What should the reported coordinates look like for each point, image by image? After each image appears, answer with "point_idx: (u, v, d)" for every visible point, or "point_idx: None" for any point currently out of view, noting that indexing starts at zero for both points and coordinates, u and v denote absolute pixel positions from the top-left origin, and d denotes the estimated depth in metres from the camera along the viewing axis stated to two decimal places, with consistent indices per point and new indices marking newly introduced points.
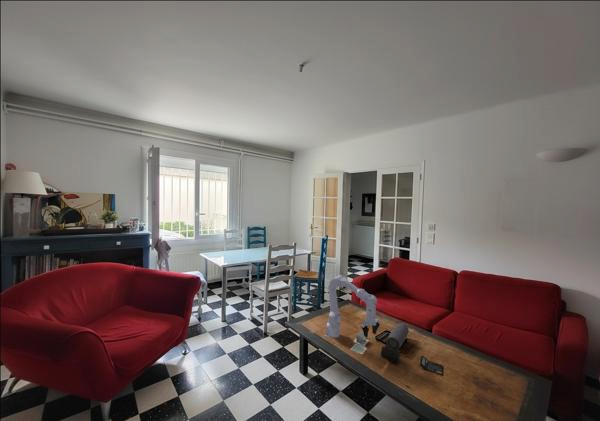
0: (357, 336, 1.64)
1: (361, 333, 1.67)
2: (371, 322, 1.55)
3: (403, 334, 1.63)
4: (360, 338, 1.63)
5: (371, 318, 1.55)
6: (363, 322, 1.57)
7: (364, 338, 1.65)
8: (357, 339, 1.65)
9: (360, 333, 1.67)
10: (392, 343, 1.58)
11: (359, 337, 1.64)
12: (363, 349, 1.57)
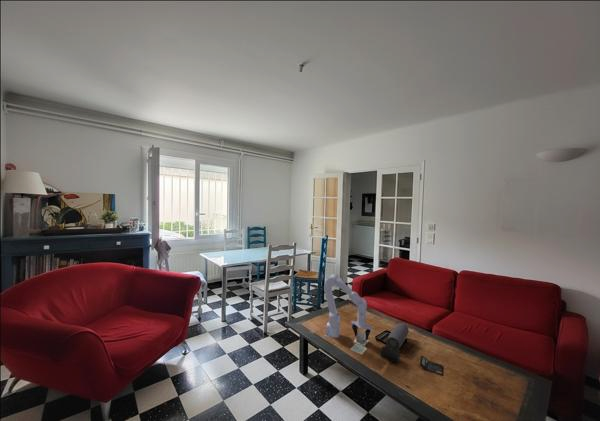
0: (357, 336, 1.64)
1: (361, 333, 1.67)
2: (358, 324, 1.65)
3: (403, 334, 1.63)
4: (360, 338, 1.63)
5: (358, 320, 1.65)
6: None
7: (364, 338, 1.65)
8: (357, 339, 1.65)
9: (360, 333, 1.67)
10: (392, 343, 1.58)
11: (359, 337, 1.64)
12: (363, 349, 1.57)
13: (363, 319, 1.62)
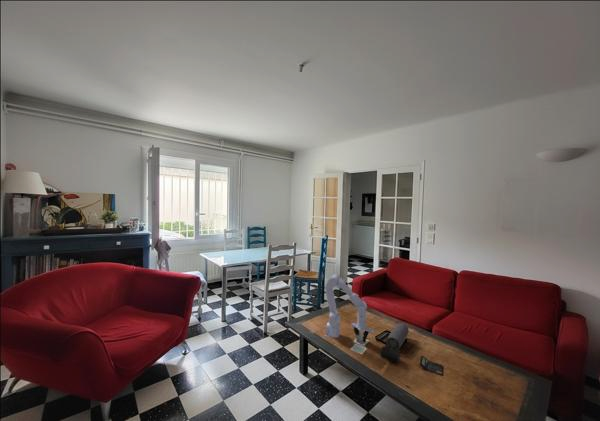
0: (357, 336, 1.64)
1: (361, 333, 1.67)
2: (358, 326, 1.65)
3: (403, 334, 1.63)
4: (360, 338, 1.63)
5: (358, 322, 1.65)
6: None
7: None
8: (357, 339, 1.65)
9: (360, 333, 1.67)
10: (392, 343, 1.58)
11: (359, 337, 1.64)
12: (363, 349, 1.57)
13: (363, 321, 1.63)
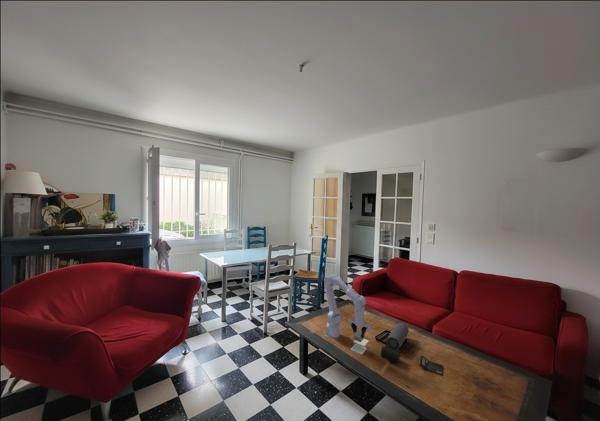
0: (355, 333, 1.56)
1: (359, 330, 1.58)
2: (355, 321, 1.56)
3: (403, 334, 1.63)
4: (358, 335, 1.55)
5: (355, 317, 1.56)
6: (352, 319, 1.61)
7: None
8: (355, 337, 1.56)
9: (358, 330, 1.58)
10: (392, 343, 1.58)
11: (357, 334, 1.55)
12: (363, 349, 1.57)
13: (359, 316, 1.54)
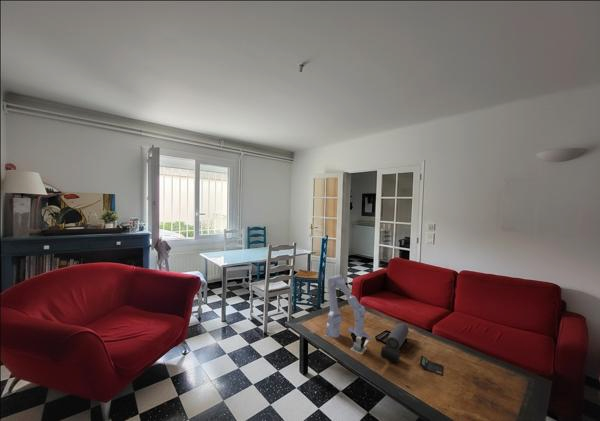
0: (355, 343, 1.56)
1: (359, 340, 1.59)
2: (355, 331, 1.56)
3: (403, 334, 1.63)
4: (358, 345, 1.55)
5: (355, 327, 1.56)
6: None
7: None
8: (355, 346, 1.57)
9: (358, 340, 1.59)
10: (392, 343, 1.58)
11: (357, 344, 1.56)
12: (363, 349, 1.57)
13: (358, 326, 1.54)
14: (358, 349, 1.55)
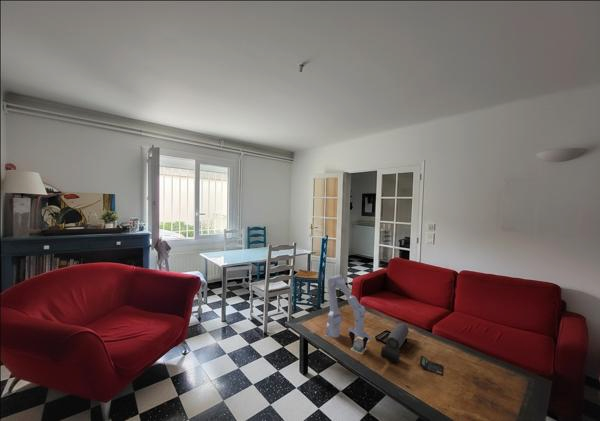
0: (355, 343, 1.56)
1: (359, 340, 1.59)
2: (355, 331, 1.56)
3: (403, 334, 1.63)
4: (358, 345, 1.55)
5: (355, 327, 1.56)
6: None
7: (362, 345, 1.57)
8: (355, 346, 1.57)
9: (358, 340, 1.59)
10: (392, 343, 1.58)
11: (357, 344, 1.56)
12: (363, 349, 1.57)
13: (358, 326, 1.54)
14: (358, 349, 1.55)
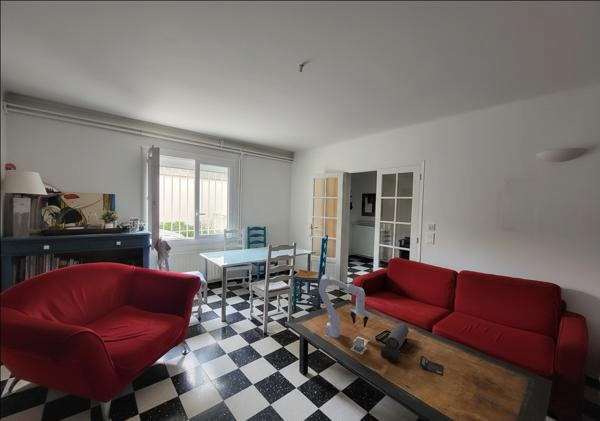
0: (355, 343, 1.56)
1: (359, 340, 1.59)
2: (356, 311, 1.69)
3: (403, 334, 1.63)
4: (358, 345, 1.55)
5: (356, 307, 1.69)
6: (353, 309, 1.74)
7: (362, 345, 1.57)
8: (355, 346, 1.57)
9: (358, 340, 1.59)
10: (392, 343, 1.58)
11: (357, 344, 1.56)
12: (363, 349, 1.57)
13: (362, 306, 1.67)
14: (358, 349, 1.55)
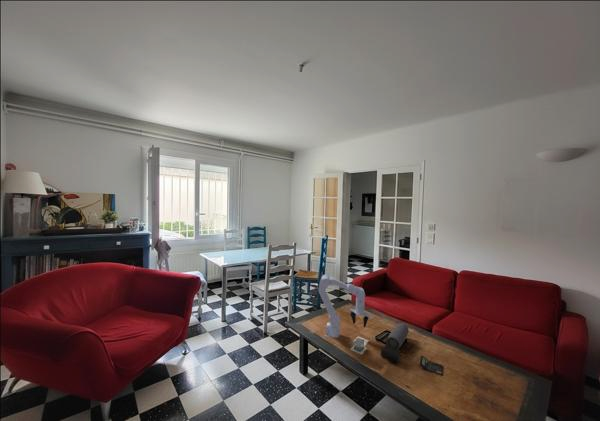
0: (355, 343, 1.56)
1: (359, 340, 1.59)
2: (356, 311, 1.69)
3: (403, 334, 1.63)
4: (358, 345, 1.55)
5: (356, 307, 1.69)
6: (353, 309, 1.74)
7: (362, 345, 1.57)
8: (355, 346, 1.57)
9: (358, 340, 1.59)
10: (392, 343, 1.58)
11: (357, 344, 1.56)
12: (363, 349, 1.57)
13: (362, 306, 1.67)
14: (358, 349, 1.55)
